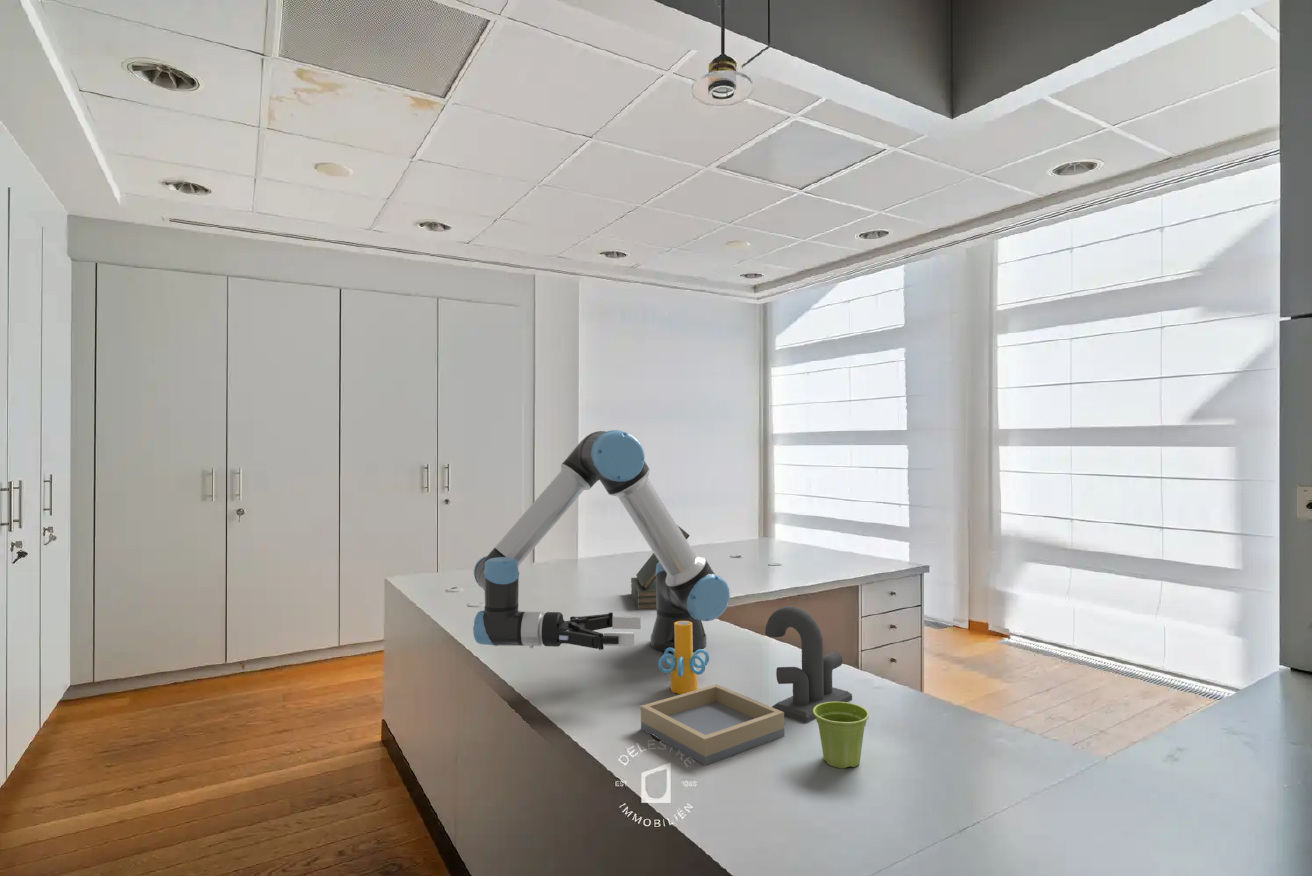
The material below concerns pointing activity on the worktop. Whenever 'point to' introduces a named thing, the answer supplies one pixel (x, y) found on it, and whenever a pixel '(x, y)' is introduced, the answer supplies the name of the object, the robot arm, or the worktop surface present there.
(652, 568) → the grey slanted block structure
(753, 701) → the tan and grey tray
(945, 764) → the worktop surface
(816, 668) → the faucet
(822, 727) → the plant pot
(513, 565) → the robot arm
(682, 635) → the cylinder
